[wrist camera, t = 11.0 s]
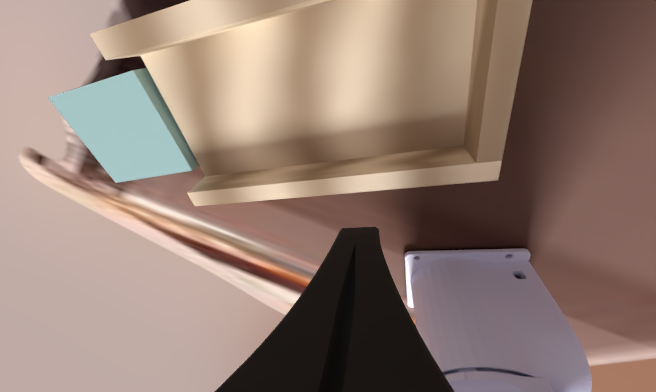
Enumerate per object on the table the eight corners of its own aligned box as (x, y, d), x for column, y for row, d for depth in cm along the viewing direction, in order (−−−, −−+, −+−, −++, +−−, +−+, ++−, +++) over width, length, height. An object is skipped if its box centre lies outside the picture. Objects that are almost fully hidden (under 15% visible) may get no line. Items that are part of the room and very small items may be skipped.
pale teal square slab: (156, 66, 17) (132, 70, 15) (207, 159, 20) (192, 170, 19) (76, 91, 19) (47, 97, 17) (134, 171, 22) (115, 182, 21)
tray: (510, -85, 10) (556, -123, 8) (478, 155, 16) (497, 180, 13) (138, 32, 15) (89, 34, 13) (217, 183, 21) (195, 206, 18)
